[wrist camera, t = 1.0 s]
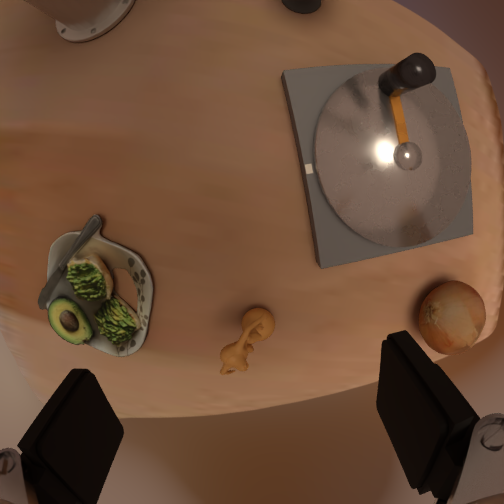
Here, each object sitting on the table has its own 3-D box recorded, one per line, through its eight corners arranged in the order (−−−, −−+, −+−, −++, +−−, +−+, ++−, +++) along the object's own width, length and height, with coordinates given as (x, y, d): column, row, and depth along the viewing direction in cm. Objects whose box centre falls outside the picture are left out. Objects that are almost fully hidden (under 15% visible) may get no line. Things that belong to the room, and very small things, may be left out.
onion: (416, 269, 36) (457, 298, 26) (467, 273, 36) (509, 299, 27) (398, 333, 39) (429, 373, 29) (449, 331, 39) (482, 365, 29)
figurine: (256, 347, 39) (258, 410, 27) (215, 329, 38) (202, 390, 27) (287, 296, 37) (302, 351, 25) (243, 275, 36) (239, 325, 25)
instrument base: (281, 77, 30) (283, 69, 27) (439, 71, 29) (450, 67, 26) (316, 262, 36) (321, 269, 33) (462, 230, 35) (473, 234, 32)
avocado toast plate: (55, 195, 34) (35, 199, 29) (173, 238, 35) (163, 248, 31) (43, 315, 38) (27, 329, 34) (142, 361, 40) (132, 380, 36)
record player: (295, 76, 27) (309, 47, 19) (447, 73, 26) (488, 58, 18) (329, 259, 33) (352, 289, 25) (469, 228, 32) (511, 245, 23)
